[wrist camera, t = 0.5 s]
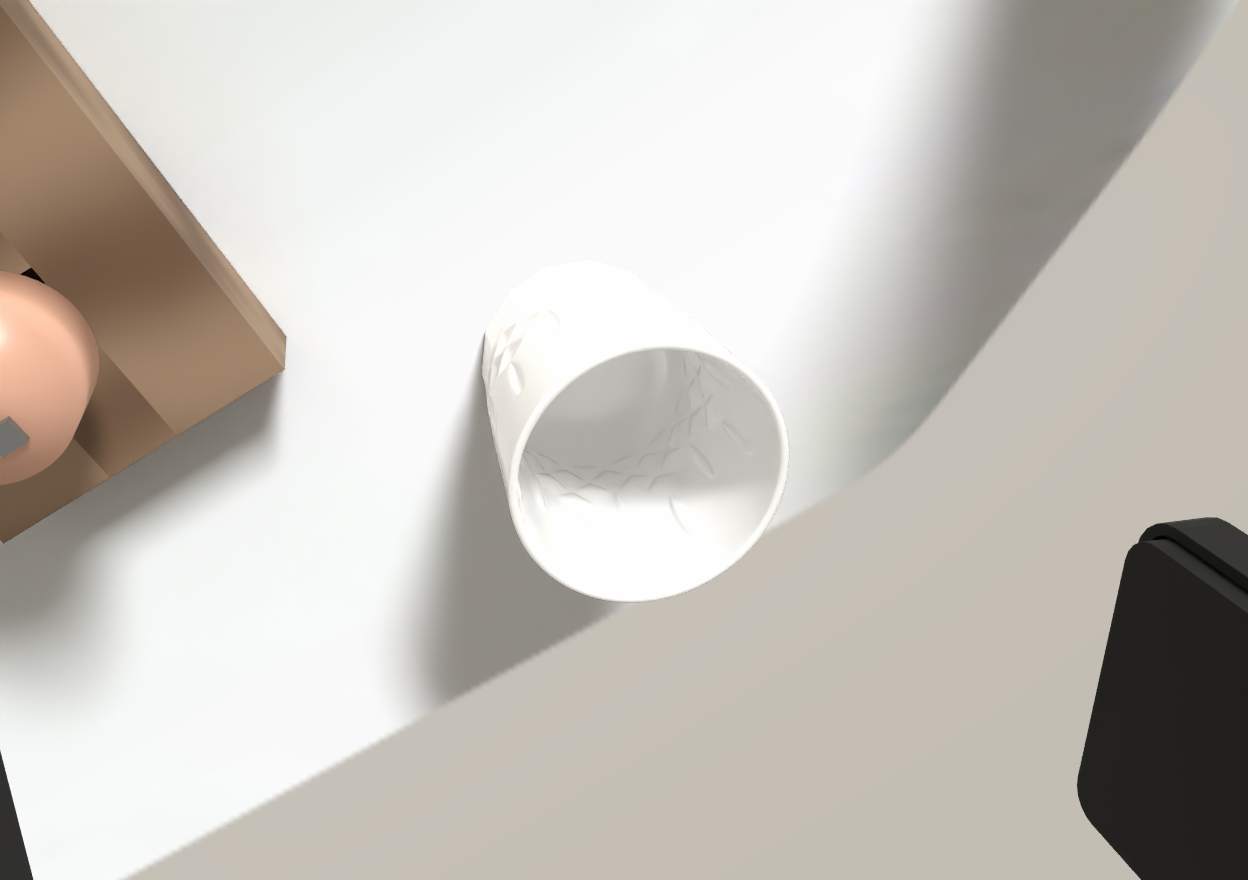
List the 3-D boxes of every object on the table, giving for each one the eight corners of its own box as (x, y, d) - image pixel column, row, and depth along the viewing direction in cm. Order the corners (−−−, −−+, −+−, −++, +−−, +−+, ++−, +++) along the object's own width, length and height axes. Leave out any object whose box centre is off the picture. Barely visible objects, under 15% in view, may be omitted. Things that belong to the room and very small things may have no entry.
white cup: (435, 427, 40) (470, 575, 31) (505, 212, 37) (565, 306, 29) (641, 476, 43) (727, 624, 34) (719, 278, 40) (833, 383, 31)
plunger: (-99, 294, 32) (-190, 380, 26) (41, 206, 32) (-18, 273, 26) (20, 419, 34) (-40, 525, 28) (151, 338, 34) (119, 426, 28)
